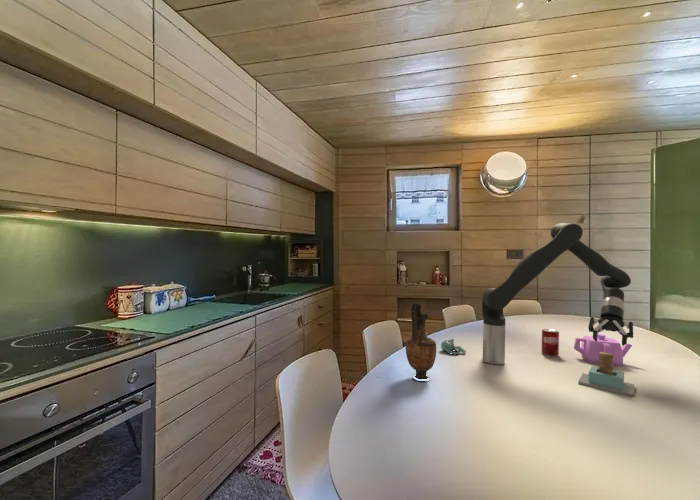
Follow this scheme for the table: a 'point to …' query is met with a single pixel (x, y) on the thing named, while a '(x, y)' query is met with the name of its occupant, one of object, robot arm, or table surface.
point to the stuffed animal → (451, 347)
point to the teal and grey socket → (607, 381)
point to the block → (606, 363)
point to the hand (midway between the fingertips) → (609, 342)
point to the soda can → (550, 342)
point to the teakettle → (601, 349)
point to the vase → (420, 344)
